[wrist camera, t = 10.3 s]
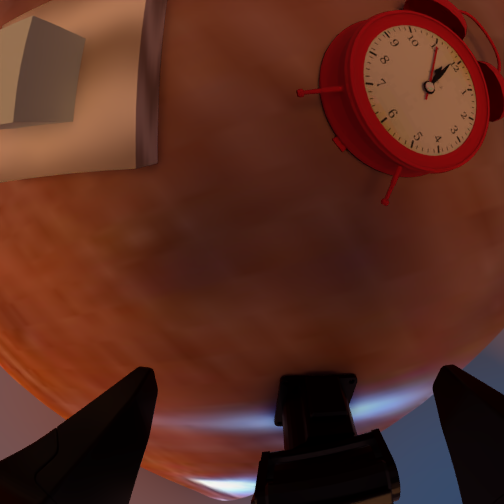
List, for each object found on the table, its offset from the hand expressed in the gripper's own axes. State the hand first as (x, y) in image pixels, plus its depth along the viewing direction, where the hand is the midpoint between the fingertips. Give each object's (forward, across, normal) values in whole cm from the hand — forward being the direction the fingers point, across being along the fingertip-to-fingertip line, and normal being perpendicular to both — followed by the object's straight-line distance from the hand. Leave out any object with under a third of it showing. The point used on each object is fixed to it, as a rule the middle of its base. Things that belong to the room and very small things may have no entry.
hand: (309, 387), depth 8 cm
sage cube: (+8, +14, -11) cm, 20 cm away
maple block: (+12, +14, -11) cm, 22 cm away
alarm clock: (+12, -8, -12) cm, 19 cm away
